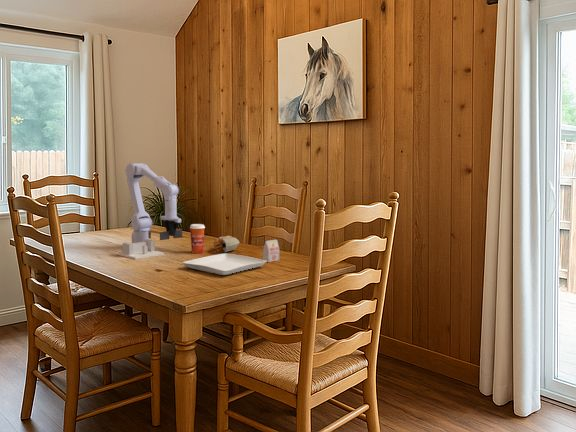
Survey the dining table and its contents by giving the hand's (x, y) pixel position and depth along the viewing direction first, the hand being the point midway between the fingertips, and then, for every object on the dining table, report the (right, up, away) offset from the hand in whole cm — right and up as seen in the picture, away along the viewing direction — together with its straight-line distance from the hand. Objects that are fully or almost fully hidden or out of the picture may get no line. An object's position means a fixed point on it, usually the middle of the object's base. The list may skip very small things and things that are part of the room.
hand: (171, 235), depth 294 cm
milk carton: (+51, -12, -20) cm, 56 cm away
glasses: (-3, -1, +3) cm, 5 cm away
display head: (-14, -9, -8) cm, 18 cm away
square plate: (+31, -14, -36) cm, 49 cm away
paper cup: (+14, -9, -1) cm, 16 cm away
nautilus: (+25, -9, +2) cm, 27 cm away
